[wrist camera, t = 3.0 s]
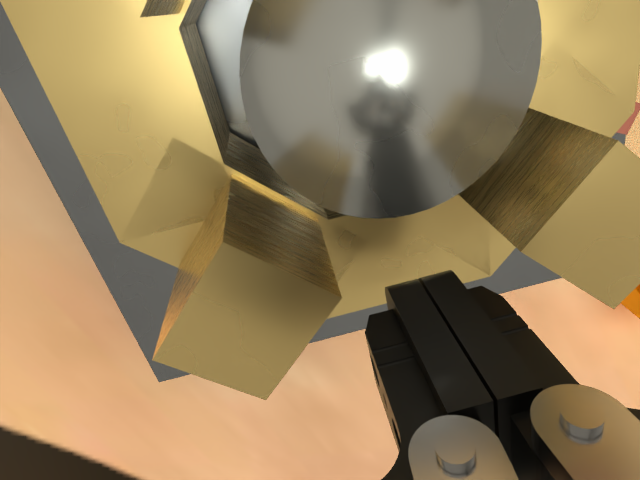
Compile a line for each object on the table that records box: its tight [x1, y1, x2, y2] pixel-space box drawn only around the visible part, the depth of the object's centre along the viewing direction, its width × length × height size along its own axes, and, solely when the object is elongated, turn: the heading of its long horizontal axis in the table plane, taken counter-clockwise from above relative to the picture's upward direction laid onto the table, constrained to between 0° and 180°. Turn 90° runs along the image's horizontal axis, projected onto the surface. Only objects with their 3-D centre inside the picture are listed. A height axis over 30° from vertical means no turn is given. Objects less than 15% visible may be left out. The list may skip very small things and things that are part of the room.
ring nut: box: [0, 0, 640, 400], centre depth 9 cm, size 13×13×7 cm
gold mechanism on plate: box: [0, 0, 640, 382], centre depth 11 cm, size 20×18×8 cm
